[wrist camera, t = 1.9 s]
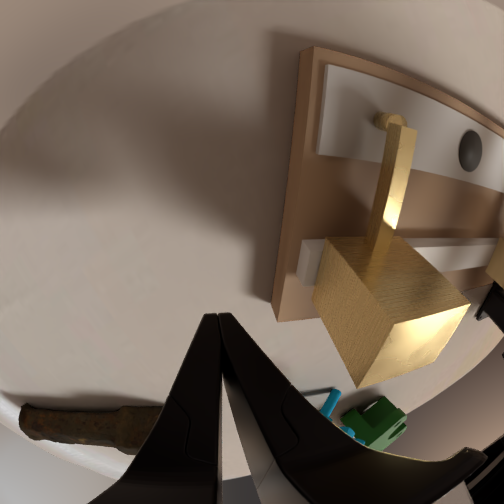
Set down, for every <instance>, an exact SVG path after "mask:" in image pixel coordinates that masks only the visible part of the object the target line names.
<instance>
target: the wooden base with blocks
mask: <svg viewBox="0 0 504 504" xmlns="http://www.w3.org/2000/svg"><path fill="white" fill-rule="evenodd" d="M380 111H381V112H387V113H392V114H397V115H402V116H403V117H404V118H405V119H406V121H407V127H408V128H411V129H414V130H417V137H416V143H415V149H414V154H413V159H412V164H411V169H410V173H409V178H408V182H407V186H406V191H405V195H404V199H403V203H402V206H401V210H400V214H399V217H398V221H397V224H396V228H395V231H394V235H393V236H400V237H401V238H402V239H404V240H405V241H406V242H407V243H408V244H409V245H410V246H412V247H413V248H414V249H415V250H416V251H417V252H418V253H420V254H421V255H422V256H423V257H424V258H425V259H426V260H427V261H428V262H429V263H431V264H432V265H433V266H434V267H435V268H436V269H437V270H438V271H439V272H440V273H441V274H442V275H443V276H444V277H445V278H446V279H447V280H448V281H449V282H450V283H451V284H452V285H453V286H454V287H455V288H456V289H457V290H458V291H459V292H461V291H465V290H469V289H473V288H477V287H481V286H485V285H488V284H492V283H493V281H494V280H495V281H496V282H497V283H498V284H499V285H500V286H501V287H502V288H503V289H504V129H502V128H501V127H500V126H498V125H497V124H495V123H494V122H492V121H491V120H489V119H488V118H486V117H485V116H483V115H482V114H480V113H479V112H477V111H475V110H474V109H472V108H470V107H469V106H467V105H465V104H464V103H462V102H460V101H458V100H457V99H455V98H453V97H451V96H449V95H447V94H446V93H444V92H442V91H440V90H438V89H436V88H434V87H432V86H430V85H428V84H425V83H423V82H421V81H419V80H417V79H414V78H412V77H410V76H407V75H405V74H403V73H400V72H398V71H395V70H393V69H390V68H387V67H385V66H382V65H379V64H376V63H373V62H370V61H367V60H364V59H361V58H358V57H355V56H351V55H348V54H344V53H341V52H337V51H333V50H329V49H325V48H321V47H317V46H313V47H310V48H308V49H305V50H303V51H300V61H299V72H298V84H297V94H296V105H295V115H294V125H293V134H292V144H291V153H290V162H289V171H288V179H287V188H286V196H285V204H284V212H283V220H282V227H281V235H280V243H279V250H278V257H277V264H276V272H275V279H274V285H273V292H272V299H271V306H272V309H273V312H274V314H275V317H276V320H277V322H286V321H295V320H304V319H312V318H320V315H319V314H318V312H317V310H316V308H315V306H314V304H313V302H312V300H311V298H312V294H313V290H314V286H315V282H316V277H317V273H318V269H319V265H320V260H321V256H322V251H323V247H324V242H325V238H326V237H365V234H366V230H367V226H368V222H369V218H370V214H371V210H372V206H373V202H374V197H375V193H376V188H377V184H378V179H379V174H380V169H381V164H382V159H383V153H384V147H385V141H386V135H387V132H384V131H381V130H378V129H377V128H376V127H375V125H374V122H373V119H374V116H375V114H376V113H377V112H380Z"/></svg>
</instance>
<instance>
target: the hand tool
mask: <svg viewBox="0 0 504 504" xmlns="http://www.w3.org/2000/svg"><path fill="white" fill-rule="evenodd" d="M162 408H163V407H157V406H151V407H134V406H122V407H121V408H120V410H119V411H116V412H110V413H88V412H80V413H76V412H64V411H52V410H45V409H34V408H33V407H32V406H30V405H29V404H28V403H26V404H24V405H23V406H21V411H20V414H19V427H20V429H21V430H22V431H23V432H24V433H25V434H26V435H27V436H28V437H29V438H31V439H33V440H44V439H45V440H50V441H53V442H59V443H66V444H75V443H76V444H83V445H97V446H105V447H114V448H117V449H118V450H119V451H121V452H123V453H125V454H127V455H137V453H138V451H139V450H140V448H141V446H142V445H143V443H144V442H145V440H146V438H147V437H148V435H149V433H150V432H151V430H152V428H153V426H154V425H155V423H156V421H157V419H158V417H159V415H160V413H161V411H162Z"/></svg>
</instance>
